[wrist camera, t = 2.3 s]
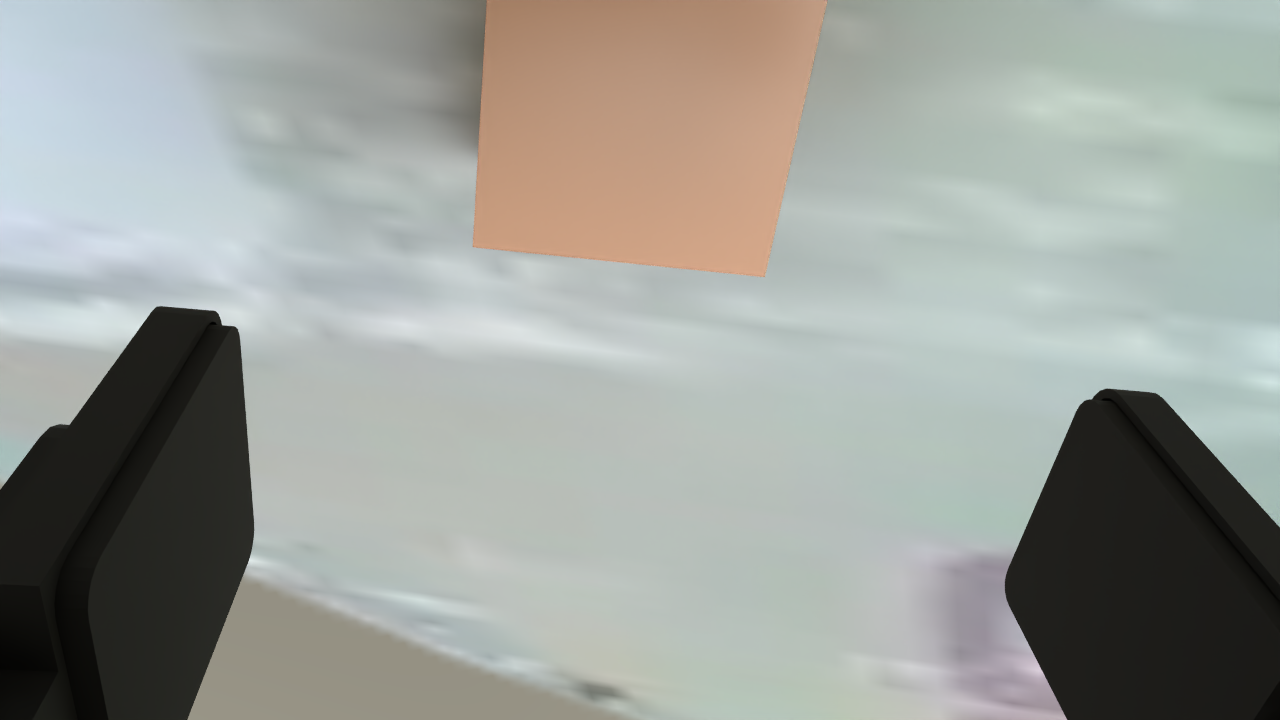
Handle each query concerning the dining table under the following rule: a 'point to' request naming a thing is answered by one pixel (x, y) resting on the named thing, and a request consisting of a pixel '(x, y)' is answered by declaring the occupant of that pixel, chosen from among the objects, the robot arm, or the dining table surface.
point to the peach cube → (641, 128)
